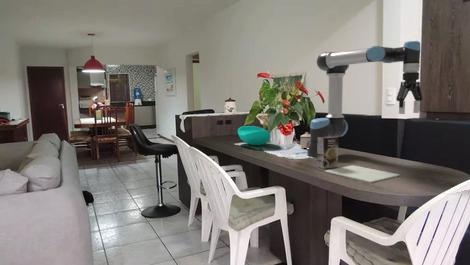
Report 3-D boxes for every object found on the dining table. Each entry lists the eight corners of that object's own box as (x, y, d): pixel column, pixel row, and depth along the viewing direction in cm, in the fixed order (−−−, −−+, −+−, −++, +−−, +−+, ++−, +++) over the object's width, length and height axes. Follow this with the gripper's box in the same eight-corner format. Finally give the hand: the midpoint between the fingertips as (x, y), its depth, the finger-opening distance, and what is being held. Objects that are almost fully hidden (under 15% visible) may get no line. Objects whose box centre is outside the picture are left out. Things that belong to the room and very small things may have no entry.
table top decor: (231, 143, 270) (230, 126, 268) (261, 140, 280) (261, 125, 279) (251, 150, 233) (251, 131, 232) (285, 147, 244) (285, 129, 242)
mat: (324, 171, 164) (324, 170, 164) (352, 166, 176) (352, 165, 176) (370, 182, 143) (370, 181, 143) (399, 175, 154) (399, 174, 154)
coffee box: (324, 168, 171) (324, 138, 169) (316, 166, 177) (316, 136, 175) (338, 167, 174) (338, 137, 173) (330, 165, 180) (331, 135, 179)
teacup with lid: (307, 150, 231) (307, 133, 230) (297, 148, 238) (297, 132, 237) (318, 148, 238) (318, 132, 237) (308, 146, 245) (308, 131, 244)
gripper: (404, 71, 160) (402, 114, 162) (431, 72, 173) (429, 112, 176) (389, 72, 166) (388, 114, 169) (416, 73, 180) (415, 112, 182)
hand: (409, 113), depth 172 cm, fingers open, 13 cm apart
